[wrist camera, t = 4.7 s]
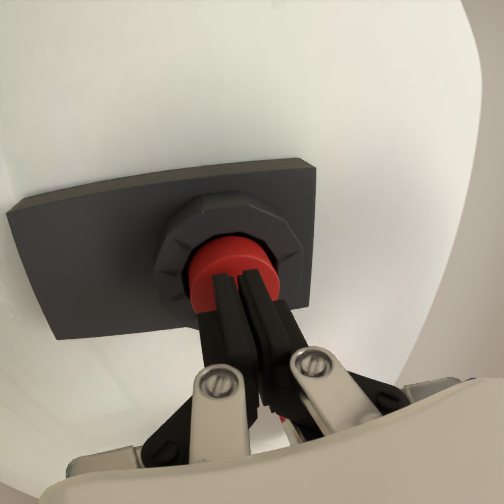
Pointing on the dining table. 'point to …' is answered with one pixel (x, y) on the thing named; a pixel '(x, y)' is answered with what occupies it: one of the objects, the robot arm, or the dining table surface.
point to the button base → (159, 241)
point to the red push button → (227, 268)
